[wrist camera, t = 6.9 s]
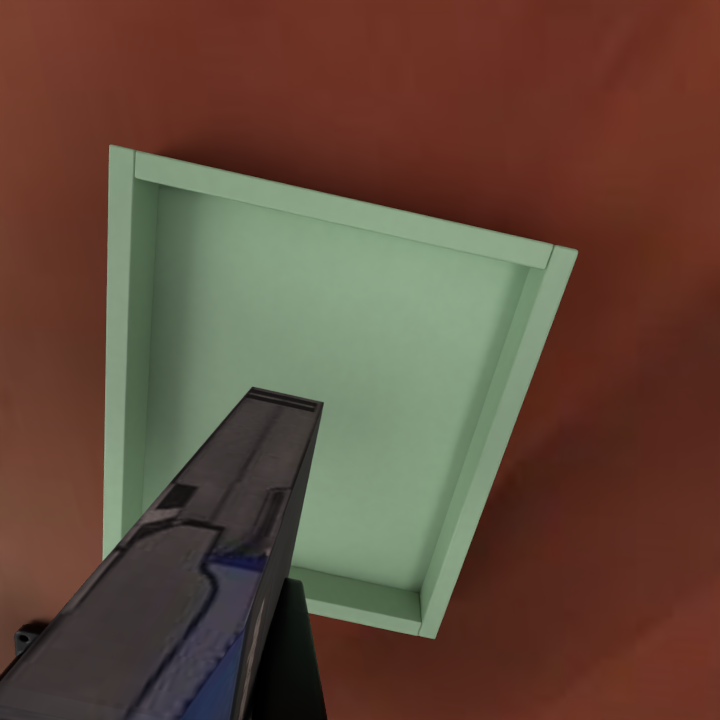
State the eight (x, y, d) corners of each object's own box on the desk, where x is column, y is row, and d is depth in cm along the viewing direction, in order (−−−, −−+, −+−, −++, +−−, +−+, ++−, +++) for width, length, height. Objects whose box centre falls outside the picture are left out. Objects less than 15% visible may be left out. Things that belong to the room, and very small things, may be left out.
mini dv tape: (268, 672, 11) (143, 1156, 5) (214, 660, 11) (27, 1135, 5) (324, 399, 8) (203, 751, 3) (254, 383, 8) (-20, 704, 3)
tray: (130, 535, 19) (101, 569, 17) (145, 155, 14) (108, 143, 12) (430, 600, 19) (435, 640, 17) (554, 247, 14) (580, 250, 12)
